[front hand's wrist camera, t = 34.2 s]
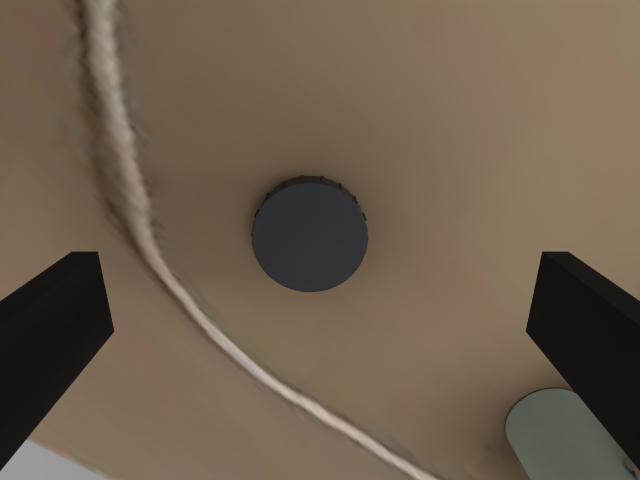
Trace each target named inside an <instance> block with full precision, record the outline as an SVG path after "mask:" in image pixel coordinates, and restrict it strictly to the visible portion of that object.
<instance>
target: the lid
mask: <svg viewBox="0 0 640 480" xmlns="http://www.w3.org/2000/svg"><path fill="white" fill-rule="evenodd" d="M255 217H256V218H255V221H254V225H253V230H252V234H251V236H252V244H253V250H254V253H255V256H256V258H257V260H258V262H259V264H260V266H261V267H262V269H263V270H264V271H265V272H266V273H267V274H268V275H269V276H270V277H271V278H272V279H273V280H275V281H276V282H277V283H279V284H281V285H283V286H285V287H287V288H290V289H293V290H297V291H303V292H318V291H323V290H327V289H330V288H333V287H335V286H337V285H339V284H341V283H342V282H344V281H345V280H347V279H348V278H349V277H350V276H351V275H352V274H353V273H354V272H355V271H356V270H357V268H358V267H359V266H360V264H361V262H362V260H363V258H364V255H365V253H366V249H367V242H368V233H367V226H366V222H365V221H367V220H366V218H365V215H364V213H362V212H361V209H360V207H359V205H358V202H357V199H356V197H355V196H354V197H353V196H352V195H351V194H350V193H349V192H348V191H347V190H346V189H345V188H344V187H342V184H341V183H340V184H337V183H336V182H334V181H331V180H329V179H325V178H324V177H323V176H321V177H315V176H305V177H304V176H303V175H301V177H298V178H294V179H291V180H289V181H286V182H285V181H283V182H282V184H281V185H279V186H278V187H276V188H275V189H274V190H273V191H272V192H271V193H268V194H267V195H266V197H265V200H264V202H263V204H262V205H261V207H260V209H258V210H257V212H256V214H255Z"/></svg>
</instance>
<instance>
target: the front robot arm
mask: <svg viewBox="0 0 640 480" xmlns="http://www.w3.org/2000/svg"><path fill="white" fill-rule="evenodd" d="M113 332H114V328H113V323H112V318H111V313H110V308H109V304H108V299H107V294H106V289H105V284H104V279H103V275H102V270H101V265H100V260H99V255H98V252H71V253H69V254H68V255H66V256H65V257H63V258H62V259H61V260H59V261H58V262H56V263H55V264H53V265H52V266H50V267H49V268H48V269H46V270H45V271H43V272H42V273H40V274H39V275H37V276H36V277H35V278H33V279H32V280H30V281H29V282H27V283H26V284H24V285H23V286H22V287H20V288H19V289H17V290H16V291H14V292H13V293H11V294H10V295H9V296H7V297H6V298H4V299H3V300H1V301H0V471H1V470H2V468H3V467H4V466H5V465H6V463H7V462H8V461H9V460H10V458H11V457H12V456H13V455H14V454H15V452H16V451H17V450H18V449H19V447H20V446H21V445H22V444H23V443H24V441H25V440H26V439H27V438H28V436H29V435H30V434H31V433H32V432H33V430H34V429H35V428H36V427H37V425H38V424H39V423H40V422H41V421H42V419H43V418H44V417H45V416H46V414H47V413H48V412H49V411H50V410H51V408H52V407H53V406H54V405H55V403H56V402H57V401H58V400H59V399H60V397H61V396H62V395H63V394H64V392H65V391H66V390H67V389H68V388H69V386H70V385H71V384H72V383H73V381H74V380H75V379H76V378H77V377H78V375H79V374H80V373H81V372H82V370H83V369H84V368H85V367H86V365H87V364H88V363H89V362H90V361H91V359H92V358H93V357H94V356H95V354H96V353H97V352H98V351H99V350H100V348H101V347H102V346H103V345H104V343H105V342H106V341H107V340H108V339H109V337H110V336H111V335H112V334H113ZM526 332H527V334H528V335H529V336H530V337H531V339H532V340H533V341H534V342H535V343H536V345H537V346H538V347H539V348H540V350H541V351H542V352H543V353H544V354H545V356H546V357H547V358H548V359H549V361H550V362H551V363H552V364H553V365H554V367H555V368H556V369H557V370H558V372H559V373H560V374H561V375H562V377H563V378H564V379H565V380H566V381H567V383H568V384H569V385H570V386H571V388H572V389H573V390H574V391H575V392H576V394H577V395H578V396H579V397H580V399H581V400H582V401H583V402H584V403H585V405H586V406H587V407H588V408H589V410H590V411H591V412H592V413H593V414H594V416H595V417H596V418H597V419H598V421H599V422H600V423H601V424H602V425H603V427H604V428H605V429H606V430H607V432H608V433H609V434H610V435H611V436H612V438H613V439H614V440H615V441H616V443H617V444H618V445H619V446H620V447H621V449H622V450H623V451H624V452H625V454H626V455H627V456H628V457H629V458H630V460H631V461H632V462H633V463H634V465H635V466H636V467H637V468H638V470H639V471H640V301H639V300H637V299H636V298H634V297H633V296H631V295H630V294H629V293H627V292H626V291H624V290H623V289H621V288H620V287H618V286H617V285H616V284H614V283H613V282H611V281H610V280H608V279H607V278H605V277H604V276H603V275H601V274H600V273H598V272H597V271H595V270H594V269H592V268H591V267H590V266H588V265H587V264H585V263H584V262H582V261H581V260H579V259H578V258H577V257H575V256H574V255H572V254H571V253H569V252H542V255H541V260H540V265H539V270H538V275H537V279H536V284H535V289H534V294H533V299H532V304H531V308H530V313H529V318H528V323H527V328H526Z"/></svg>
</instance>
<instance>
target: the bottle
mask: <svg viewBox="0 0 640 480" xmlns="http://www.w3.org/2000/svg"><path fill="white" fill-rule="evenodd" d="M505 432H506V436H507V439H508V441H509V443H510V444H511V446H512V448H513V450H514V451H515V453H516V455H517V457H518V459H519V460H520V462H521V464H522V466H523V467H524V469H525V471H526V473H527V475H528V476H529V478H530V480H637V478H636V475H635V472H634V471H631V470H629V469H628V468H627V466H626V465H625V464H624V460H625V459H626V458H627V457H628V456H627V455H626V454H625V452H624V451H623V450H622V449H621V447H620V446H619V445H618V444H617V443H616V441H615V440H614V439H613V438H612V436H611V435H610V434H609V433H608V432H607V430H606V429H605V428H604V427H603V425H602V424H601V423H600V422H599V421H598V419H597V418H596V417H595V416H594V414H593V413H592V412H591V411H590V410H589V408H588V407H587V406H586V405H585V403H584V402H583V401H582V400H581V399H580V397H579V396H578V395H577V394H576V393H574V392H572V391H569V390H566V389H559V388H551V389H544V390H540V391H537V392H534V393H532V394H530V395H528V396H526V397H525V398H523V399H522V400H520V401H519V402H518V403H517V404H516V405H515V406H514V407H513V409H512V410H511V411H510V413H509V415H508V417H507V420H506V425H505Z"/></svg>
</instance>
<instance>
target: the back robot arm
mask: <svg viewBox="0 0 640 480" xmlns="http://www.w3.org/2000/svg"><path fill="white" fill-rule="evenodd" d="M624 464H625V465H626V466H627V468H628V469H629V470H631V471H634V472H635V475H636V478H637V480H640V471H639V470H638V468H637V467H636V466H635V465H634V463H633V462H632V461H631V460H630V458H629V457H627V458H626V459H625V460H624Z"/></svg>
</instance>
